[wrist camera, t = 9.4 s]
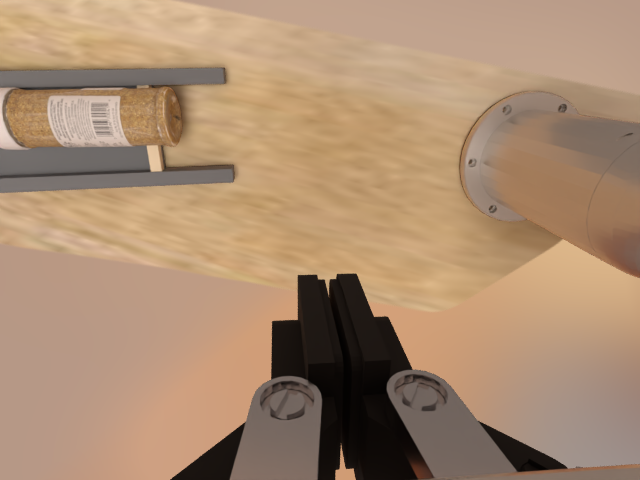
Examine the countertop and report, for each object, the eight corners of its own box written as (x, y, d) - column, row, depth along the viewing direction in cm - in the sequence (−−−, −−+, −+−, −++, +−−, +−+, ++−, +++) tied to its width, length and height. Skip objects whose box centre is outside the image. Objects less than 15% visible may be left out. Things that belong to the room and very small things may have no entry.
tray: (224, 68, 36) (221, 67, 33) (234, 177, 39) (232, 185, 36) (-62, 72, 33) (-89, 72, 30) (-24, 188, 36) (-45, 197, 34)
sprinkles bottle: (176, 78, 33) (0, 79, 33) (160, 99, 30) (-37, 100, 29) (187, 133, 36) (25, 134, 35) (174, 158, 32) (-5, 160, 32)
